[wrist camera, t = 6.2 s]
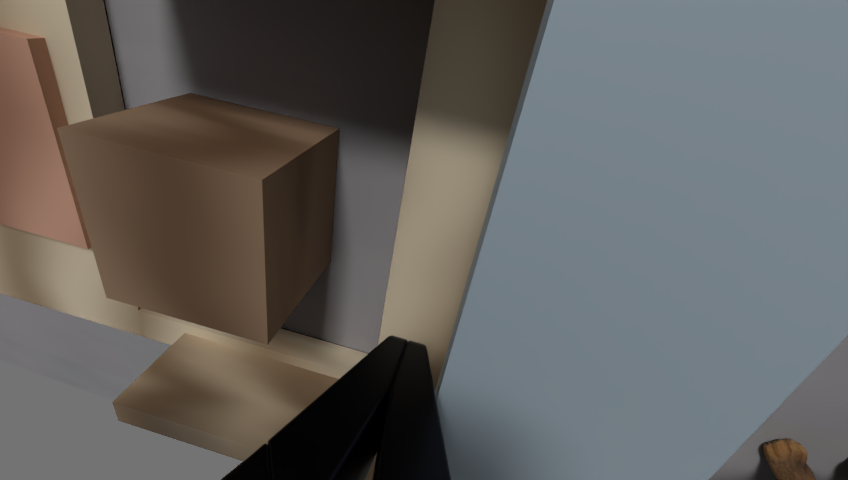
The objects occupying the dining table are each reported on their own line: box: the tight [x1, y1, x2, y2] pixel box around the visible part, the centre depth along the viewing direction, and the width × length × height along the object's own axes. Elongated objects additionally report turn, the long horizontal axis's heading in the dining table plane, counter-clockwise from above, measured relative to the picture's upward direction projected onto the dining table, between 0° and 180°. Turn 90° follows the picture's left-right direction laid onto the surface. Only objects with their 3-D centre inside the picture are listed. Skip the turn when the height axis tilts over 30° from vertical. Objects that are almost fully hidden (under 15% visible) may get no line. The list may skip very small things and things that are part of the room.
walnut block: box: [57, 93, 339, 345], centre depth 12 cm, size 5×5×4 cm
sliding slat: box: [435, 0, 848, 480], centre depth 8 cm, size 5×16×2 cm, turn 170°
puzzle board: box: [0, 0, 547, 480], centre depth 12 cm, size 26×16×5 cm, turn 80°
